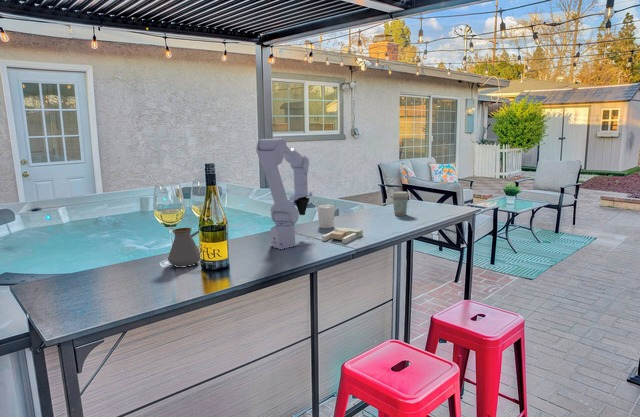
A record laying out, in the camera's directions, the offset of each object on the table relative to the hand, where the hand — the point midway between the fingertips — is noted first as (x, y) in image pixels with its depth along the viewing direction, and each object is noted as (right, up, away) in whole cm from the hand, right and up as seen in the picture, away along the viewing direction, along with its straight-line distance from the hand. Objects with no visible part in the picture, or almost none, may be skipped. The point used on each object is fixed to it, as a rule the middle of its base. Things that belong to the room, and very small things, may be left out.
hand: (302, 214), depth 186 cm
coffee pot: (-36, -17, -30) cm, 50 cm away
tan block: (+16, -10, -6) cm, 20 cm away
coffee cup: (+50, -1, +38) cm, 63 cm away
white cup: (+11, -6, +17) cm, 21 cm away
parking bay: (+17, -10, -4) cm, 20 cm away
